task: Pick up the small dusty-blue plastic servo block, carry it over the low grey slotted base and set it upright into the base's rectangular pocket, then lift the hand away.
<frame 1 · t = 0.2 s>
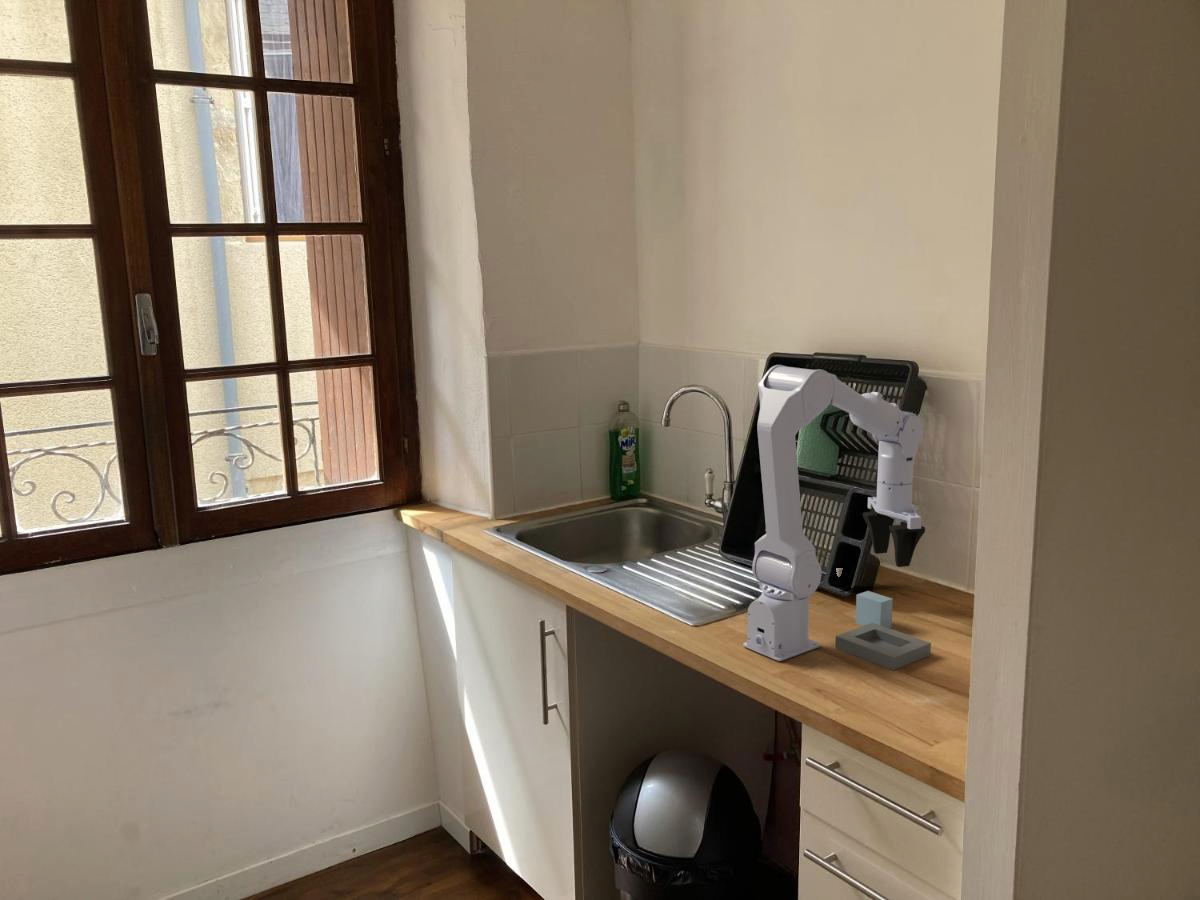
hand: (891, 559, 169), 9 cm above the worktop, fingers open, 7 cm apart
servo block: (873, 625, 165), on the worktop
lighter: (849, 587, 184), on the worktop
grey slotted base: (882, 651, 154), on the worktop
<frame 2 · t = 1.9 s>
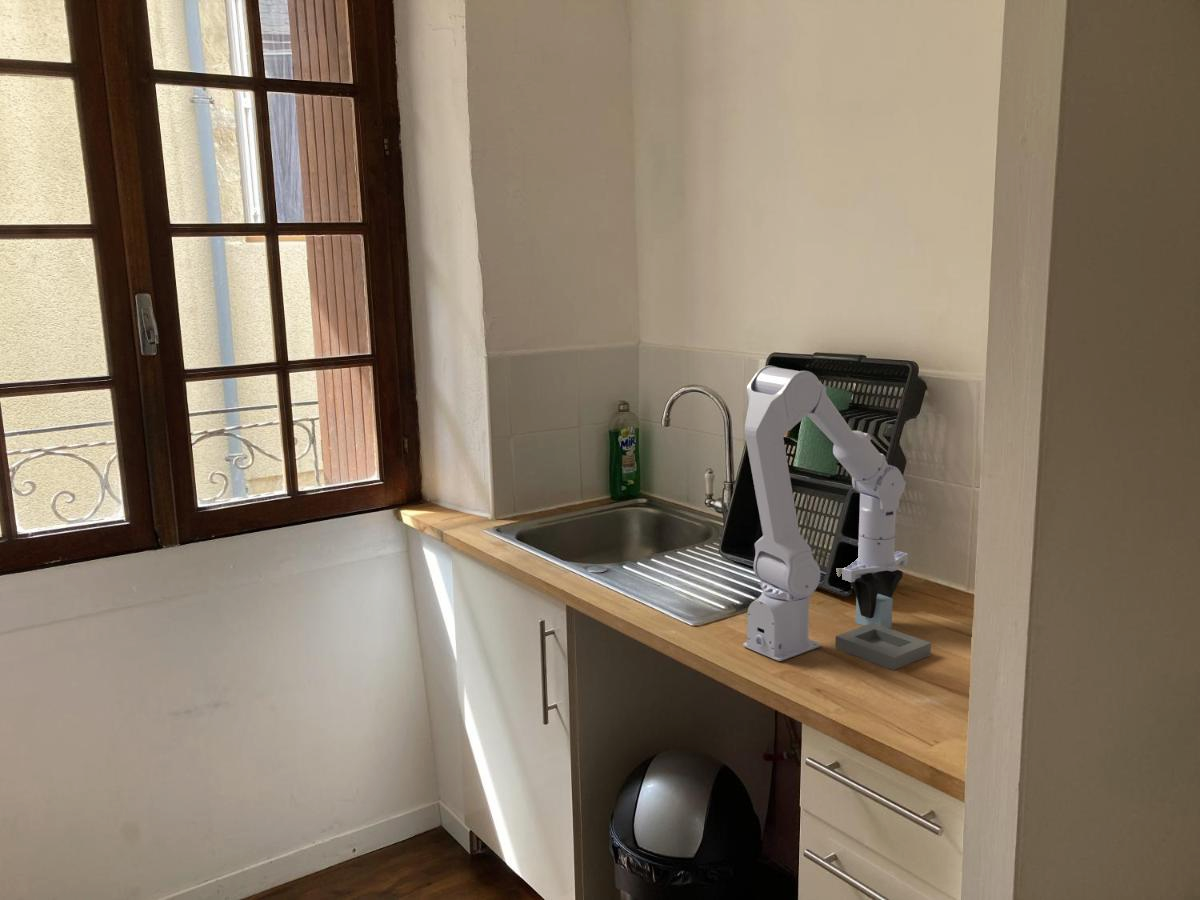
hand: (873, 613, 165), 2 cm above the worktop, fingers closed on servo block, 3 cm apart
servo block: (873, 624, 165), on the worktop, touching gripper
everything else where it was.
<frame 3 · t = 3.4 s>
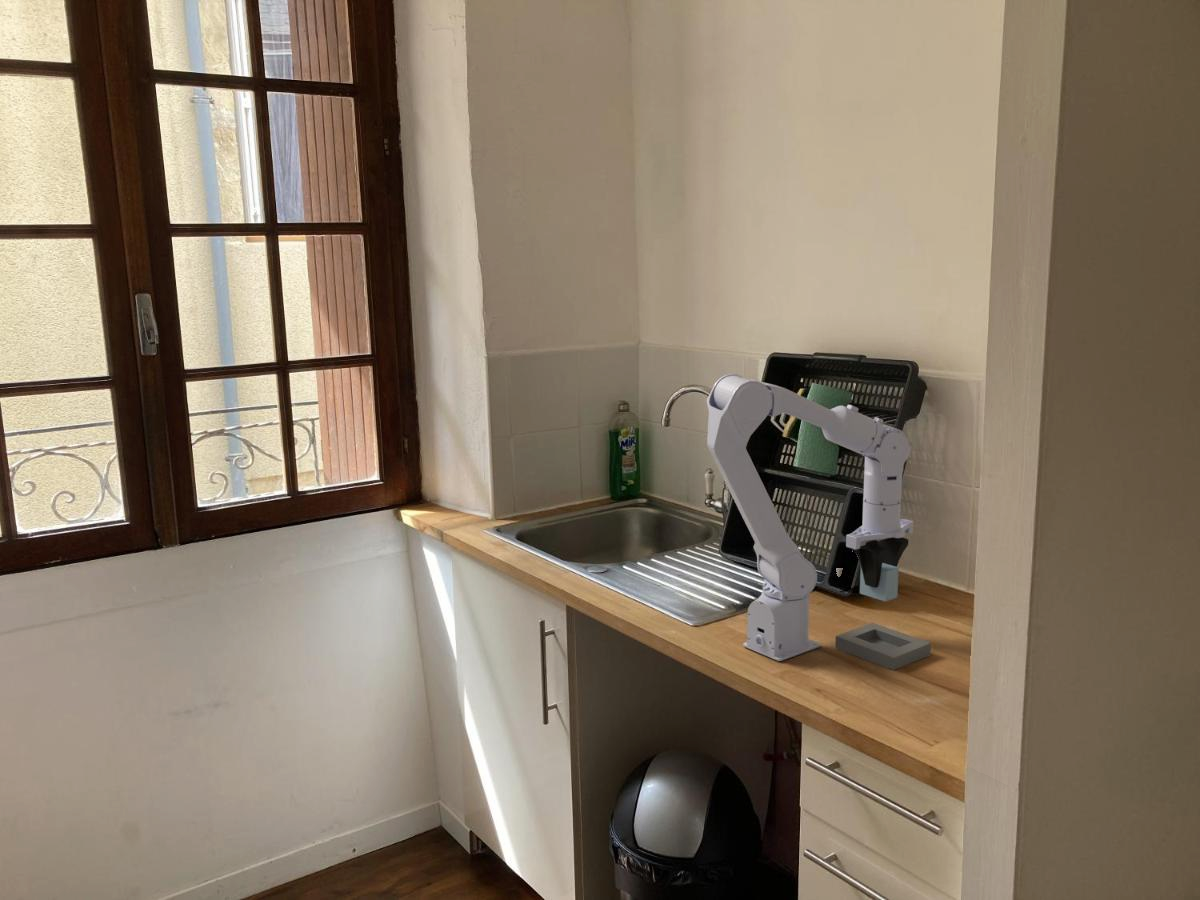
hand: (878, 583, 159), 9 cm above the worktop, fingers closed on servo block, 3 cm apart
servo block: (878, 595, 159), point 7 cm above the worktop, touching gripper
everything else where it was.
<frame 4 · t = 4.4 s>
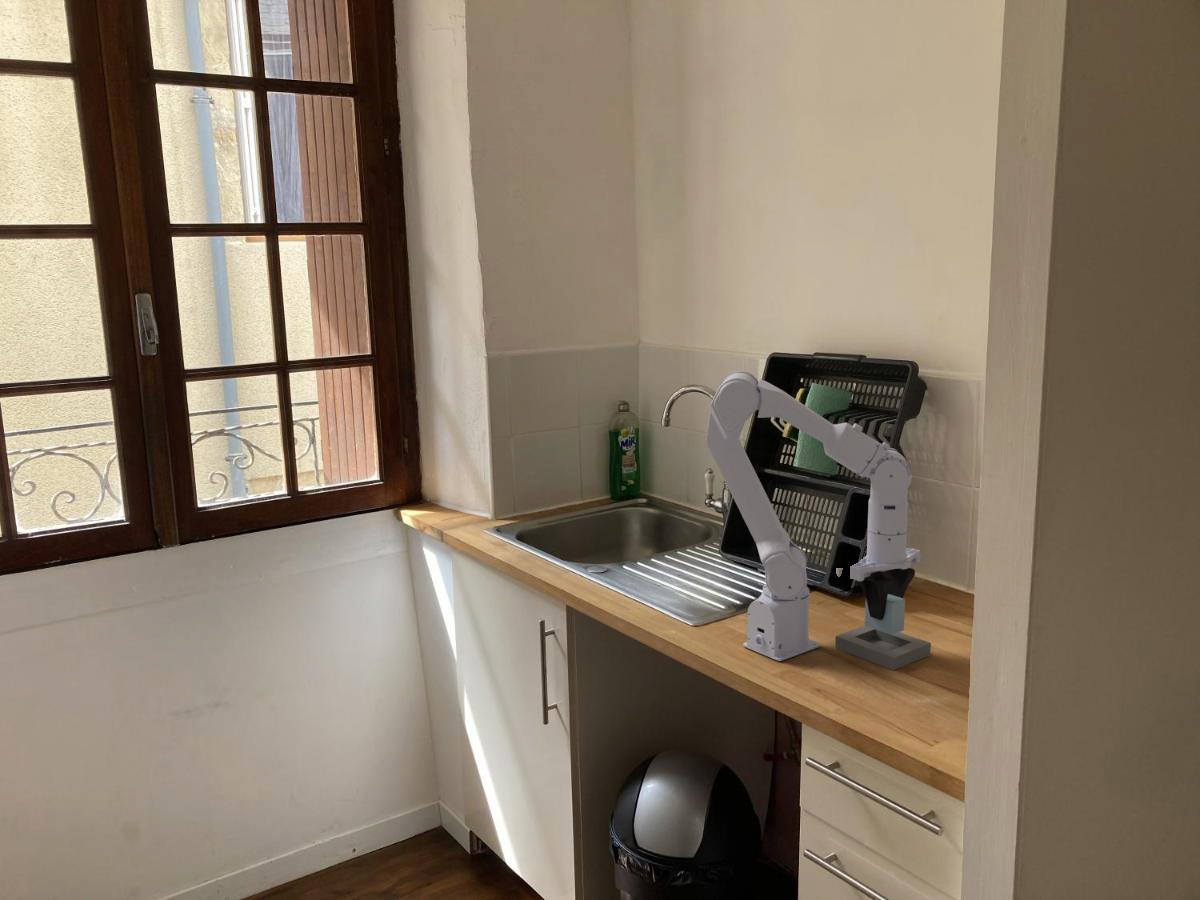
hand: (883, 615, 153), 6 cm above the worktop, fingers closed on servo block, 3 cm apart
servo block: (884, 627, 154), point 4 cm above the worktop, touching gripper
everything else where it was.
when the fingers open (3 cm above the worktop, at t = 5.2 s): servo block stays where it is, resting on grey slotted base.
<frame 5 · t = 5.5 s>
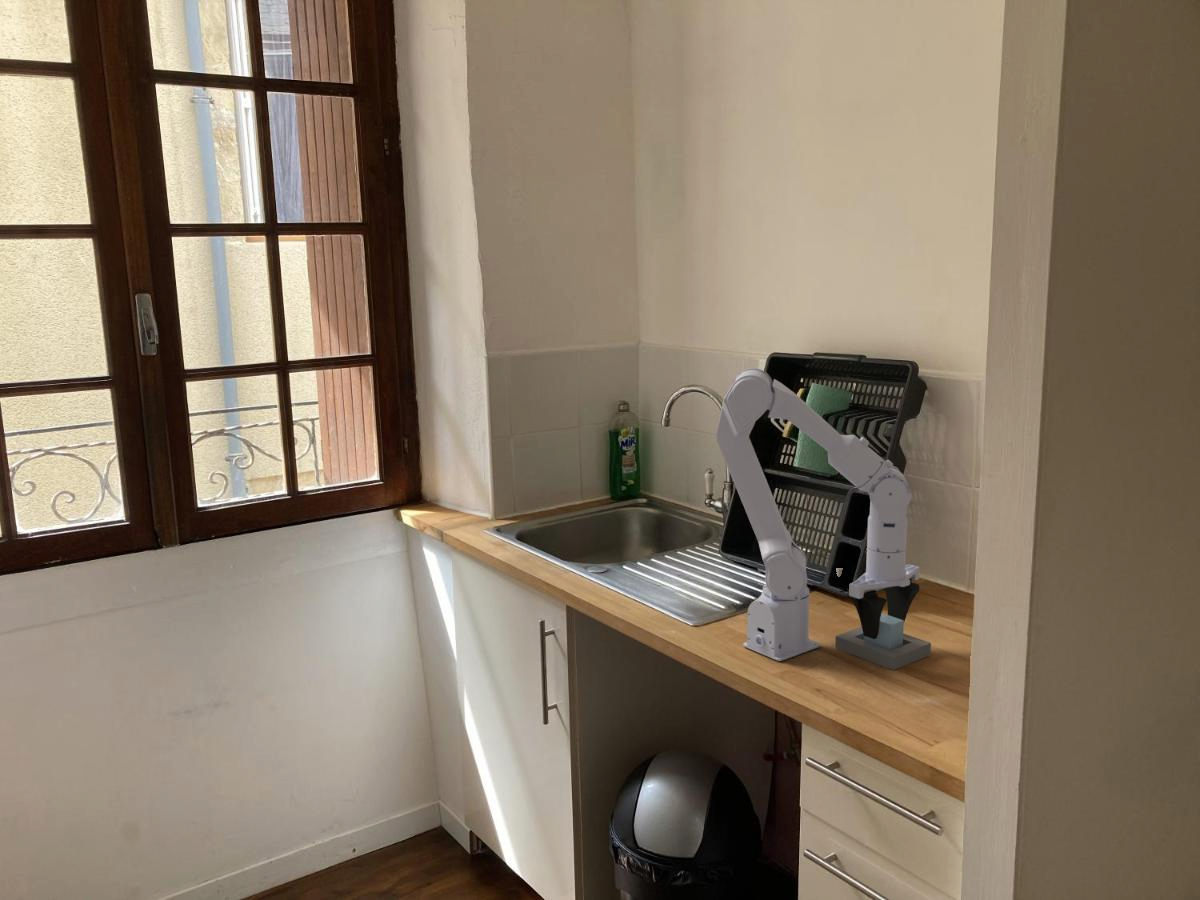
hand: (883, 632, 154), 3 cm above the worktop, fingers open, 6 cm apart
servo block: (882, 648, 154), resting on grey slotted base
everything else where it was.
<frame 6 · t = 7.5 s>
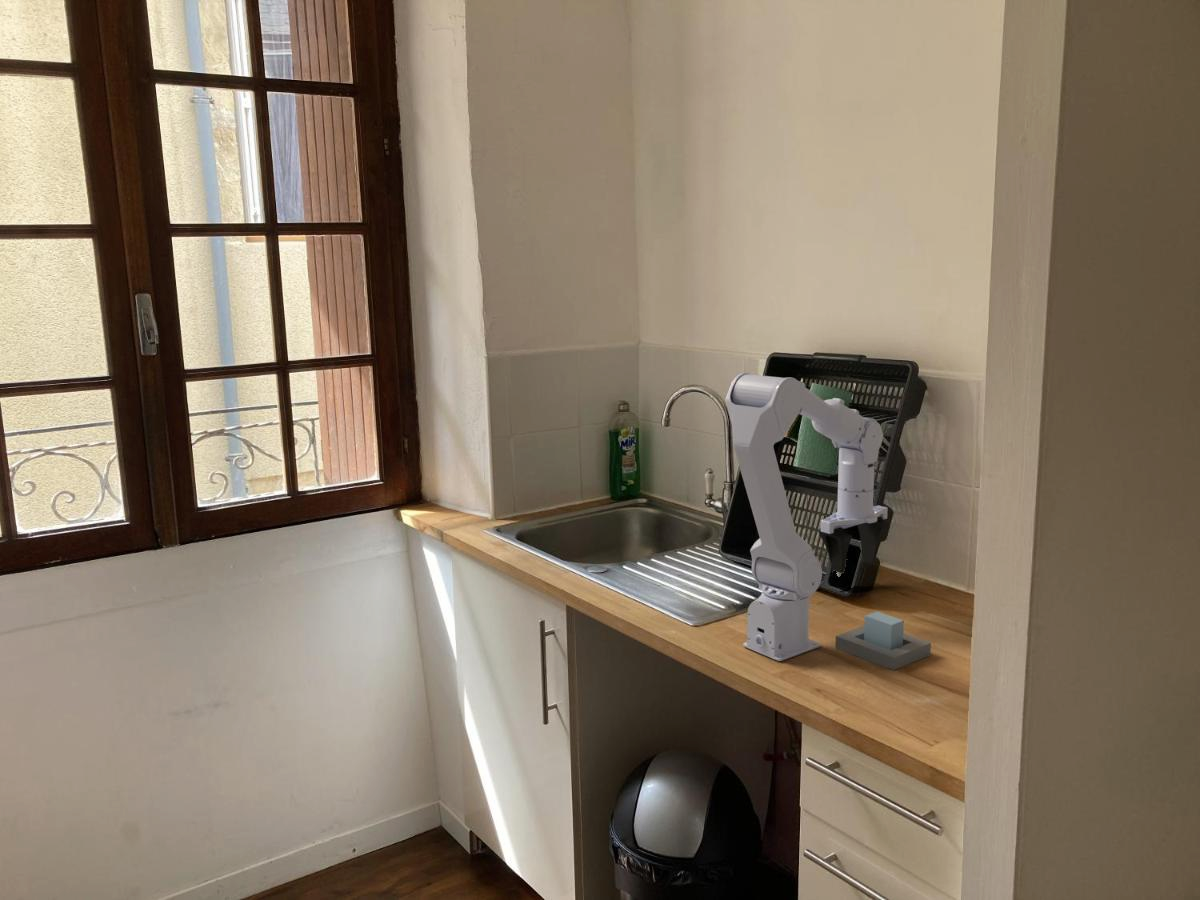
hand: (853, 566, 167), 9 cm above the worktop, fingers open, 7 cm apart
nothing on the worktop moved.
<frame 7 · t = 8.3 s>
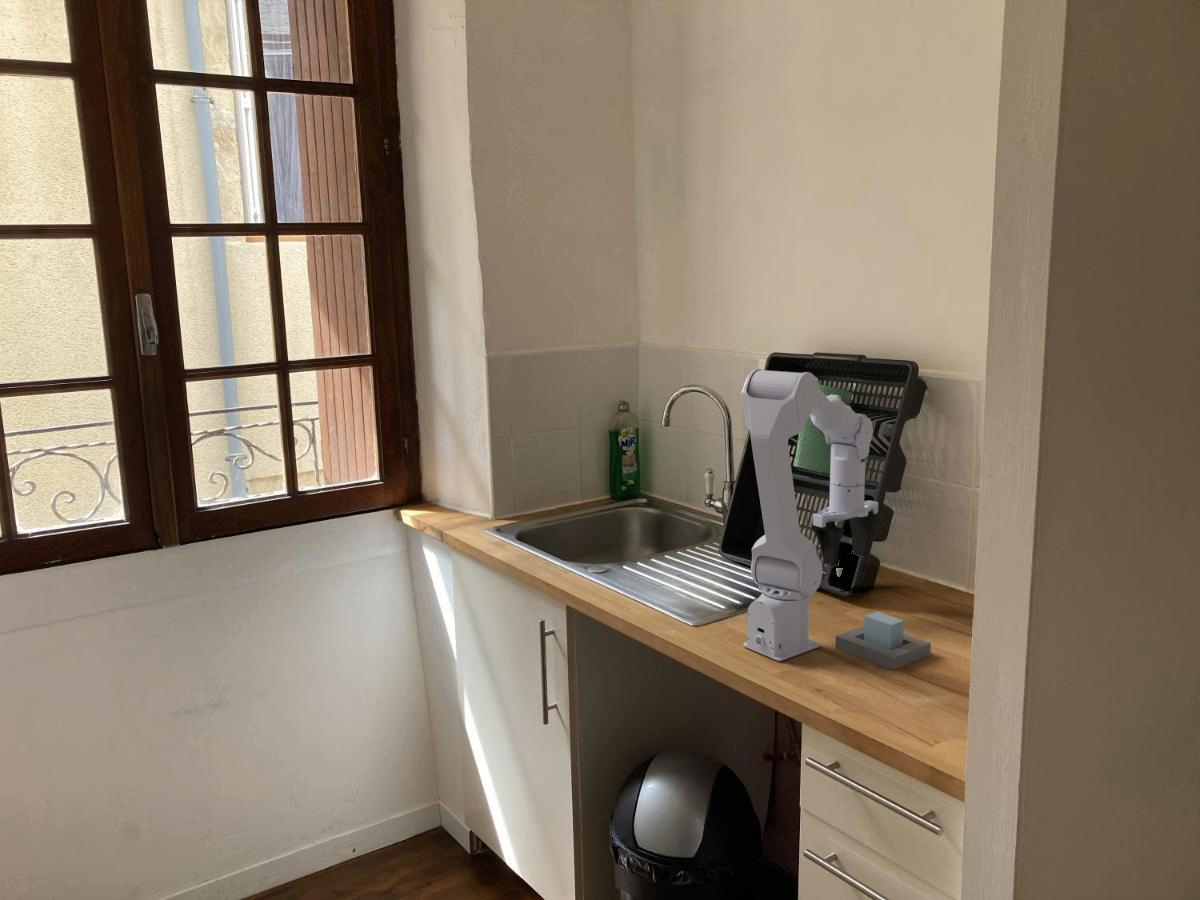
hand: (844, 559, 171), 9 cm above the worktop, fingers open, 7 cm apart
nothing on the worktop moved.
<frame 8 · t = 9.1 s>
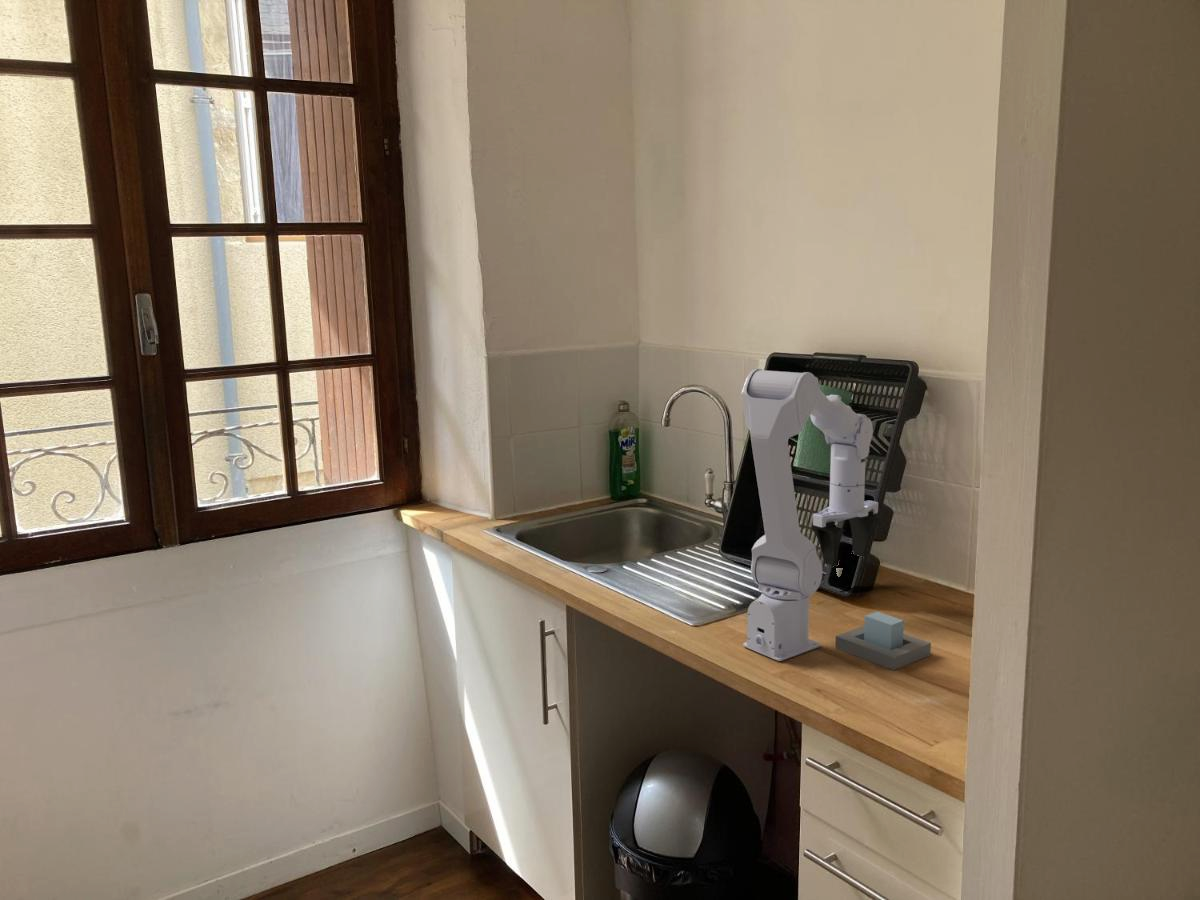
hand: (844, 559, 171), 9 cm above the worktop, fingers open, 7 cm apart
nothing on the worktop moved.
at the end: servo block 0.1 cm off-centre on the grey slotted base, point 0.5 cm above the grey slotted base's base; servo block tilted 0°; the gripper is holding nothing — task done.
